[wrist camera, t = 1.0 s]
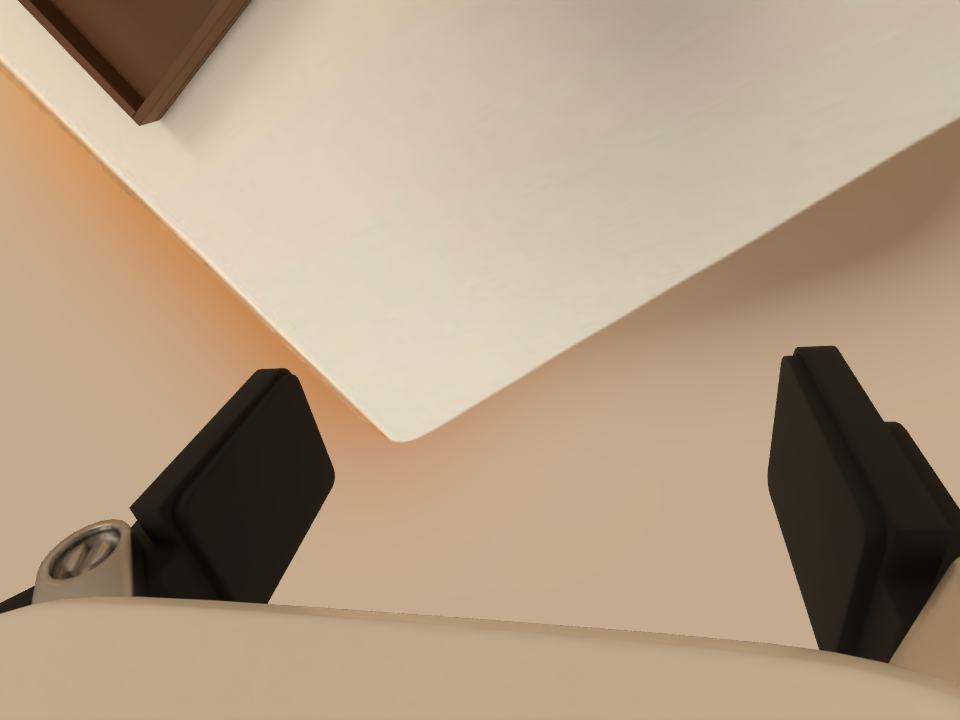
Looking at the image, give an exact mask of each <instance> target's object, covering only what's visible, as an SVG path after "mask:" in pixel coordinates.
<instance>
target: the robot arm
mask: <svg viewBox="0 0 960 720" xmlns="http://www.w3.org/2000/svg"><path fill="white" fill-rule="evenodd" d="M334 473H335V472H334V468H333V466H332V463H331V460H330V458H329V455H328V453H327V450H326V448H325V445H324V443H323V440H322V438H321V435H320V432H319V430H318V427H317V425H316V422H315V420H314V417H313V414H312V412H311V409H310V407H309V404H308V402H307V399H306V396H305V394H304V391H303V389H302V386H301V384H300V381H299V379H298V378H297V377H296V376H295V375H292V374H291V372H290V371H289V370H288V369H285V368H279V369H260V370H257V371H256V372H255V373H254V374H253V375H252V376H251V377H250V378H249V379H248V380H247V381H246V383H245V384H244V385H243V386H242V387H241V388H240V389H239V390H238V391H237V392H236V394H234V396H233V397H232V398H231V399H230V400H229V401H228V402H227V403H226V404H225V405H224V406H223V407H222V408H221V410H220V411H219V412H218V413H217V414H216V415H215V416H214V417H213V418H212V419H211V420H210V421H209V422H208V424H207V425H206V426H205V427H204V428H203V429H202V430H201V431H200V432H199V433H198V434H197V435H196V436H195V438H194V439H193V440H192V441H191V442H190V443H189V444H188V445H187V446H186V447H185V448H184V449H183V451H182V452H181V453H180V454H179V455H178V456H177V457H176V458H175V459H174V460H173V461H172V462H171V464H170V465H169V466H168V467H167V468H166V469H165V470H164V471H163V472H162V473H161V474H160V475H159V476H158V477H157V479H156V480H155V481H154V482H153V483H152V484H151V485H150V486H149V487H148V488H147V489H146V490H145V492H144V493H143V494H142V495H141V496H140V497H139V498H138V499H137V500H136V501H135V502H134V503H133V504H132V506H131V507H130V510H131V511H132V513H133V514H134V516H135V517H136V519H137V521H136V522H135V524H134V525H133V526H132V527H131V528H130V526H129V525H128V524H127V523H125V522H124V521H122V520H115V519H111V520H105V521H100V522H97V523H94V524H91V525H88V526H86V527H84V528H82V529H80V530H78V531H76V532H74V533H73V534H71V535H70V536H68V537H67V538H66V539H64V540H63V541H61V542H60V543H59V544H58V545H57V546H56V547H55V548H53V549H52V551H50V552H49V554H48V555H47V556H46V557H45V559H44V560H43V561H42V563H41V565H40V567H39V570H38V572H37V577H36V582H35V586H33V587H32V588H29V589H28V590H25V591H23V592H21V593H19V594H17V595H15V596H13V597H11V598H10V599H7V600H5V601H4V602H1V603H0V720H960V509H959V507H958V506H957V505H956V503H955V502H954V500H953V499H952V497H951V496H950V494H949V493H948V491H947V490H946V488H945V487H944V485H943V484H942V482H941V481H940V479H939V478H938V476H937V475H936V473H935V472H934V471H933V469H932V467H931V466H930V465H929V463H928V461H927V460H926V458H925V457H924V455H923V454H922V452H921V451H920V449H919V448H918V446H917V445H916V444H915V442H914V441H913V439H912V438H911V436H910V435H909V433H908V432H907V430H906V429H905V428H904V427H903V426H902V425H901V424H899V423H897V422H884V421H883V420H882V418H881V417H880V415H879V413H878V412H877V410H876V408H875V407H874V405H873V404H872V402H871V401H870V399H869V397H868V396H867V394H866V393H865V391H864V390H863V388H862V386H861V385H860V383H859V382H858V380H857V378H856V377H855V376H854V374H853V372H852V371H851V369H850V367H849V366H848V364H847V363H846V361H845V360H844V358H843V356H842V355H841V353H840V352H839V350H838V349H837V348H836V347H835V346H814V347H797V348H796V349H795V351H794V354H793V356H784V357H783V358H782V362H781V368H780V376H779V384H778V393H777V401H776V410H775V418H774V425H773V434H772V442H771V450H770V458H769V466H768V487H769V492H770V496H771V499H772V502H773V505H774V508H775V512H776V515H777V518H778V521H779V524H780V528H781V531H782V534H783V537H784V540H785V543H786V546H787V549H788V552H789V556H790V559H791V562H792V565H793V568H794V571H795V574H796V578H797V581H798V584H799V587H800V590H801V594H802V597H803V600H804V603H805V606H806V609H807V612H808V615H809V619H810V622H811V625H812V628H813V631H814V634H815V638H816V641H817V644H818V647H819V650H814V649H807V648H799V647H792V646H784V645H777V644H770V643H759V642H747V641H738V640H727V639H717V638H706V637H695V636H685V635H674V634H663V633H652V632H640V631H627V630H614V629H601V628H587V627H576V626H563V625H550V624H537V623H525V622H512V621H499V620H486V619H471V618H459V617H444V616H432V615H418V614H404V613H390V612H376V611H362V610H348V609H334V608H320V607H305V606H290V605H274V604H268V602H269V600H270V598H271V596H272V594H273V593H274V591H275V589H276V587H277V586H278V584H279V582H280V580H281V578H282V576H283V575H284V573H285V571H286V569H287V568H288V566H289V564H290V562H291V560H292V559H293V557H294V555H295V553H296V551H297V550H298V548H299V546H300V544H301V543H302V541H303V539H304V537H305V535H306V534H307V532H308V530H309V528H310V526H311V524H312V523H313V521H314V519H315V517H316V516H317V514H318V512H319V510H320V508H321V507H322V505H323V503H324V501H325V499H326V498H327V496H328V494H329V492H330V491H331V489H332V487H333V484H334V480H335V474H334Z"/></svg>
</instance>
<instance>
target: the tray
mask: <svg viewBox="0 0 960 720" xmlns="http://www.w3.org/2000/svg"><path fill="white" fill-rule="evenodd" d="M18 1H19V2H20V3H21V4H22V5H23V6H24V7H25V8H26V9H27V10H28V11H29V12H30V13H31V14H32V15H33V16H34V17H35V19H36V20H37V21H38V22H39V23H40V24H41V25H42V26H43V27H44V28H45V29H46V30H47V31H48V32H49V33H50V34H51V35H52V36H53V37H54V38H55V39H56V40H57V41H58V42H59V43H60V44H61V46H62V47H63V48H64V49H65V50H66V51H67V52H68V53H69V54H70V55H71V56H72V57H73V58H74V59H75V60H76V61H77V62H78V63H79V64H80V65H81V66H82V67H83V68H84V69H85V70H86V71H87V73H88V74H89V75H90V76H91V77H92V78H93V79H94V80H95V81H96V82H97V83H98V84H99V85H100V86H101V87H102V88H103V89H104V90H105V91H106V92H107V93H108V94H109V95H110V96H111V97H112V98H113V100H114V101H115V102H116V103H117V104H118V105H119V106H120V107H121V108H122V109H123V110H124V111H125V112H126V113H127V114H128V115H129V116H130V117H131V118H132V119H133V120H134V121H135V122H136V123H137V124H138V125H139V126H141V125H144V124H148V123H151V122H154V121H159V120H160V119H161V118H162V116H163V115H164V114H165V112H166V111H167V110H168V108H169V107H170V106H171V105H172V103H173V102H174V101H175V99H176V98H177V97H178V95H179V94H180V93H181V91H182V90H183V89H184V88H185V86H186V85H187V84H188V82H189V81H190V80H191V78H192V77H193V76H194V75H195V73H196V72H197V71H198V69H199V68H200V67H201V65H202V64H203V63H204V61H205V60H206V59H207V58H208V56H209V55H210V54H211V52H212V51H213V50H214V48H215V47H216V46H217V44H218V43H219V42H220V41H221V39H222V38H223V37H224V35H225V34H226V33H227V31H228V30H229V29H230V27H231V26H232V25H233V24H234V22H235V21H236V20H237V18H238V17H239V16H240V14H241V13H242V12H243V11H244V9H245V8H246V7H247V5H248V4H249V3H250V1H251V0H18Z"/></svg>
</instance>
